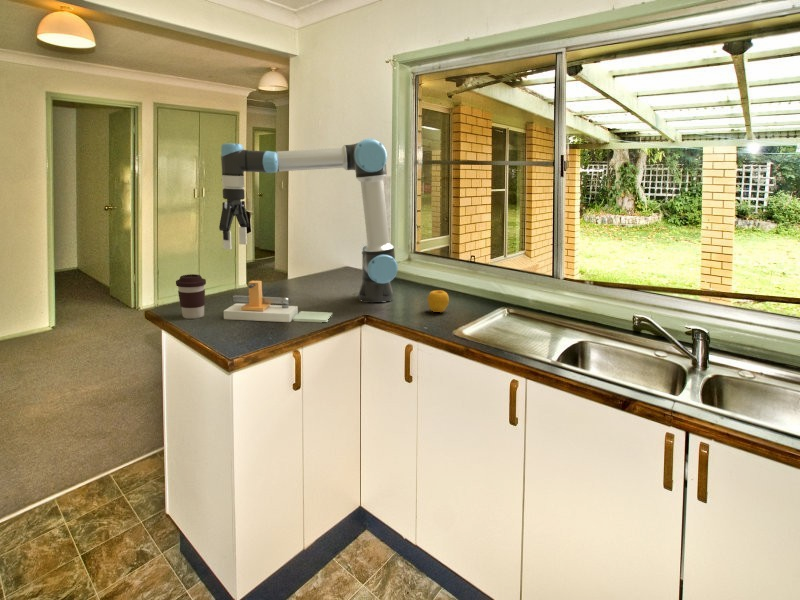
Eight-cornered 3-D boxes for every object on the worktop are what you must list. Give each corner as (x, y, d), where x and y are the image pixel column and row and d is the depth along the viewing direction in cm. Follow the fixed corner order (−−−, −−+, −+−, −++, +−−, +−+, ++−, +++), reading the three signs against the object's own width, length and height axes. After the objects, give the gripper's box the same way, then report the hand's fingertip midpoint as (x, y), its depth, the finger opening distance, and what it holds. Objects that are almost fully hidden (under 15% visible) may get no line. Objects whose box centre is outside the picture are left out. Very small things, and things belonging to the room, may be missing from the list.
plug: (270, 313, 188) (269, 280, 185) (262, 320, 179) (260, 285, 176) (249, 312, 189) (248, 279, 186) (240, 319, 180) (238, 284, 177)
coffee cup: (184, 312, 187) (180, 273, 183) (211, 312, 188) (208, 273, 184) (174, 320, 177) (171, 278, 174) (203, 320, 178) (200, 278, 174)
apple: (442, 316, 191) (443, 293, 189) (422, 312, 196) (423, 290, 194) (451, 311, 198) (453, 289, 196) (433, 308, 203) (434, 287, 201)
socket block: (297, 313, 189) (297, 302, 188) (289, 322, 179) (289, 310, 178) (235, 311, 191) (235, 300, 190) (224, 319, 180) (223, 307, 179)
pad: (332, 315, 189) (332, 312, 189) (326, 322, 179) (326, 320, 179) (300, 313, 190) (300, 311, 189) (293, 321, 180) (293, 318, 180)
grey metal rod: (289, 302, 187) (289, 297, 187) (287, 304, 184) (287, 299, 184) (235, 300, 188) (235, 295, 188) (232, 301, 186) (232, 296, 185)
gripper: (238, 187, 194) (239, 241, 199) (206, 188, 169) (209, 250, 175) (256, 187, 193) (258, 243, 198) (228, 189, 169) (230, 251, 174)
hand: (235, 246), depth 186 cm, fingers open, 13 cm apart
